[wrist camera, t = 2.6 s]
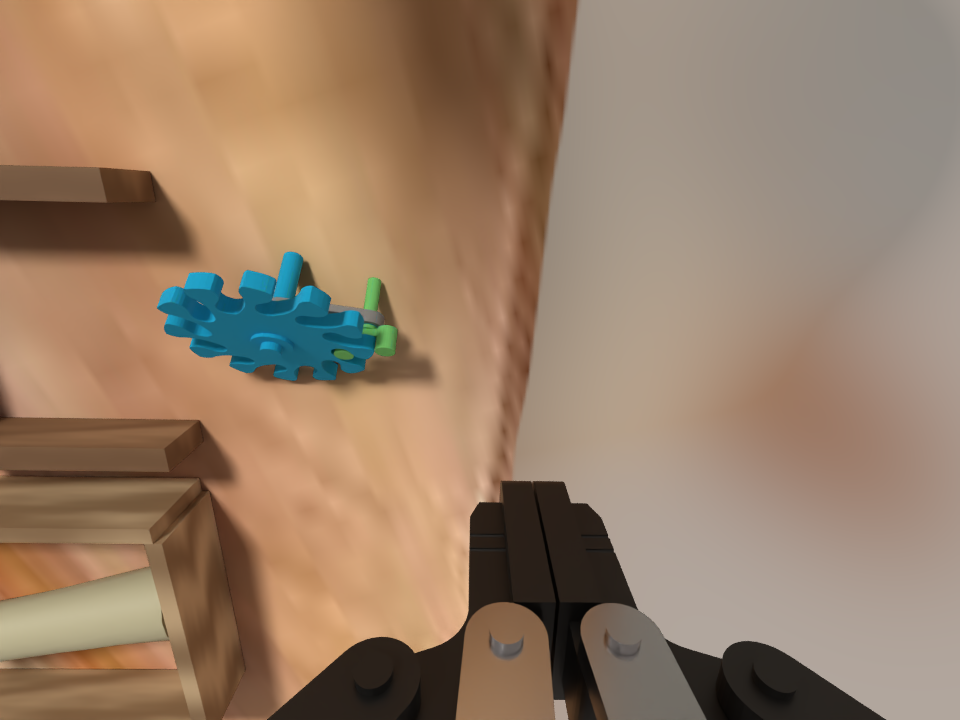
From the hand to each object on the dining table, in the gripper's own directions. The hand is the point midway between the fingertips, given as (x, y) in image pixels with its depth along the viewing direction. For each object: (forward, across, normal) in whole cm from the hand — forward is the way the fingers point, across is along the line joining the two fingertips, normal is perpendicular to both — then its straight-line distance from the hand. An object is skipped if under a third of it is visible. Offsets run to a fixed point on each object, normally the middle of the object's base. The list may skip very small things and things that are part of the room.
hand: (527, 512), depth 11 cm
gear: (+17, +11, 0) cm, 21 cm away
